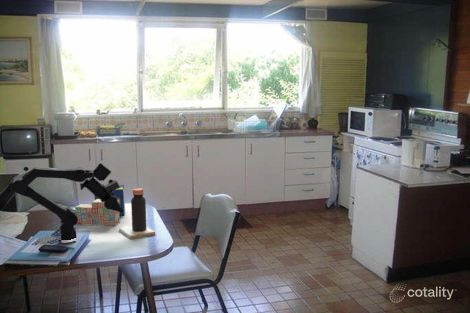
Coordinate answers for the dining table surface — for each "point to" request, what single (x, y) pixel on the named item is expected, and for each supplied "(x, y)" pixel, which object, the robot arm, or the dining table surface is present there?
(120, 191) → the protein box
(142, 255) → the dining table surface
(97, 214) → the stack of blocks
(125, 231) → the white flat block
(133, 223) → the vinegar
